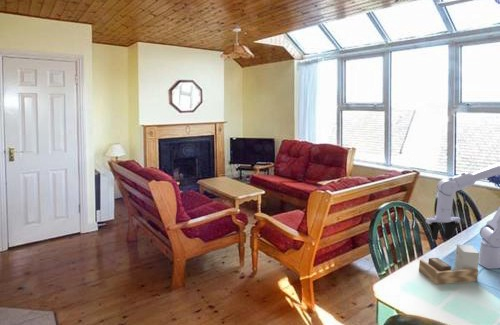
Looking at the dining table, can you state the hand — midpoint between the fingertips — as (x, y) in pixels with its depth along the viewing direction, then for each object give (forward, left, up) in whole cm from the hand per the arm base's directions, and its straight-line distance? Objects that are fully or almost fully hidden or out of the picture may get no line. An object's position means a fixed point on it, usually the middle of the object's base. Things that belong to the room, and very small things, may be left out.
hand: (440, 238), depth 157 cm
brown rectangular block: (+9, +12, -10) cm, 18 cm away
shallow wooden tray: (+7, +14, -9) cm, 18 cm away
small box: (-2, +13, -10) cm, 16 cm away
